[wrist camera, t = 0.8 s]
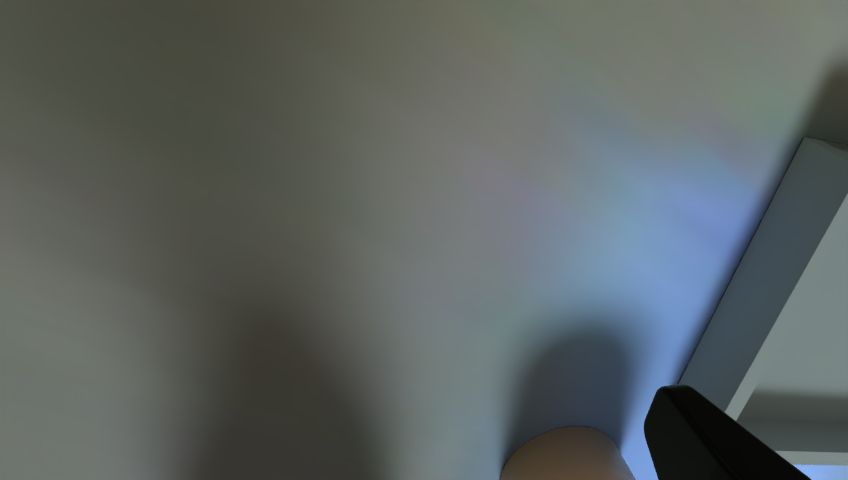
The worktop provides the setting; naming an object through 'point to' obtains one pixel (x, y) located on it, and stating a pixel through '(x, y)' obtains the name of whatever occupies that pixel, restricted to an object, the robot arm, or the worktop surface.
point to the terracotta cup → (568, 457)
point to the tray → (788, 318)
